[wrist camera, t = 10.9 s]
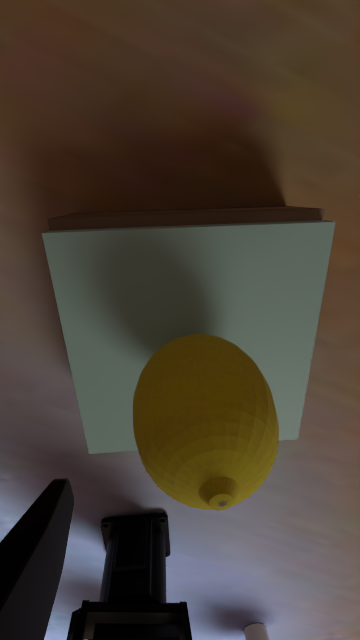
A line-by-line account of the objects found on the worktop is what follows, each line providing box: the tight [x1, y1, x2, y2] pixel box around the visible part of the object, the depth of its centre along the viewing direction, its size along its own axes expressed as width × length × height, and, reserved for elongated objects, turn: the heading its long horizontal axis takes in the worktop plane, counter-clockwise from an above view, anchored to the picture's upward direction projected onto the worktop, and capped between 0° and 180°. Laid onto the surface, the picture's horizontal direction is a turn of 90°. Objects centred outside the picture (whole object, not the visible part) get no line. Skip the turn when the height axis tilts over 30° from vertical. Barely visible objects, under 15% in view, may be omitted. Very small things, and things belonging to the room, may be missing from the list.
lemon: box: [133, 334, 279, 510], centre depth 12 cm, size 6×6×8 cm
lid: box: [42, 220, 336, 454], centre depth 16 cm, size 13×13×1 cm
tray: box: [48, 206, 325, 231], centre depth 18 cm, size 14×13×4 cm
